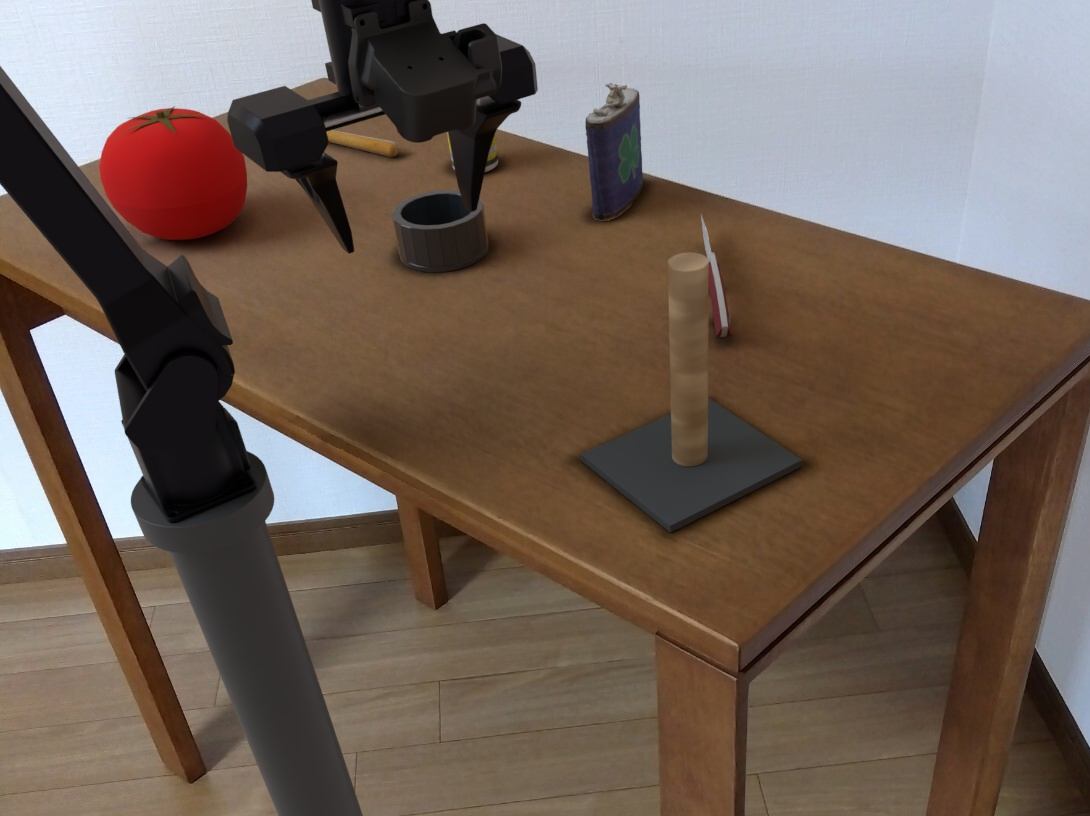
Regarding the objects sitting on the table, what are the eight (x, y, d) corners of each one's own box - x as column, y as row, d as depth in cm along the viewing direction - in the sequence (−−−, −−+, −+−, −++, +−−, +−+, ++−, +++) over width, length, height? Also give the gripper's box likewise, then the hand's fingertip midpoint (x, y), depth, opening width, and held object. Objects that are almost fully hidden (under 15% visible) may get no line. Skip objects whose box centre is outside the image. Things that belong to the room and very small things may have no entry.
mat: (670, 533, 72) (670, 525, 71) (581, 460, 78) (580, 453, 77) (801, 467, 76) (802, 459, 75) (707, 403, 82) (707, 396, 82)
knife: (733, 348, 88) (734, 312, 85) (716, 349, 88) (717, 314, 86) (707, 232, 102) (707, 199, 100) (693, 233, 103) (692, 200, 100)
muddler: (665, 460, 76) (660, 265, 67) (683, 442, 78) (681, 248, 68) (696, 470, 75) (695, 274, 66) (714, 452, 77) (716, 257, 67)
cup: (426, 281, 99) (418, 237, 96) (384, 250, 104) (376, 207, 101) (505, 253, 102) (499, 210, 99) (460, 224, 107) (454, 182, 104)
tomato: (209, 264, 104) (171, 142, 96) (98, 246, 108) (53, 128, 100) (285, 210, 111) (255, 94, 104) (178, 196, 116) (142, 83, 108)
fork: (402, 137, 120) (261, 107, 127) (391, 139, 118) (249, 108, 126) (403, 162, 121) (262, 131, 129) (391, 164, 119) (250, 132, 127)
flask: (623, 180, 112) (618, 65, 105) (651, 183, 111) (648, 67, 104) (586, 219, 106) (578, 101, 99) (616, 223, 105) (610, 103, 98)
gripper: (266, 40, 57) (335, 322, 67) (575, -38, 64) (594, 227, 75) (189, -4, 64) (263, 257, 74) (476, -70, 71) (506, 177, 82)
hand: (411, 230), depth 76 cm, fingers open, 9 cm apart
